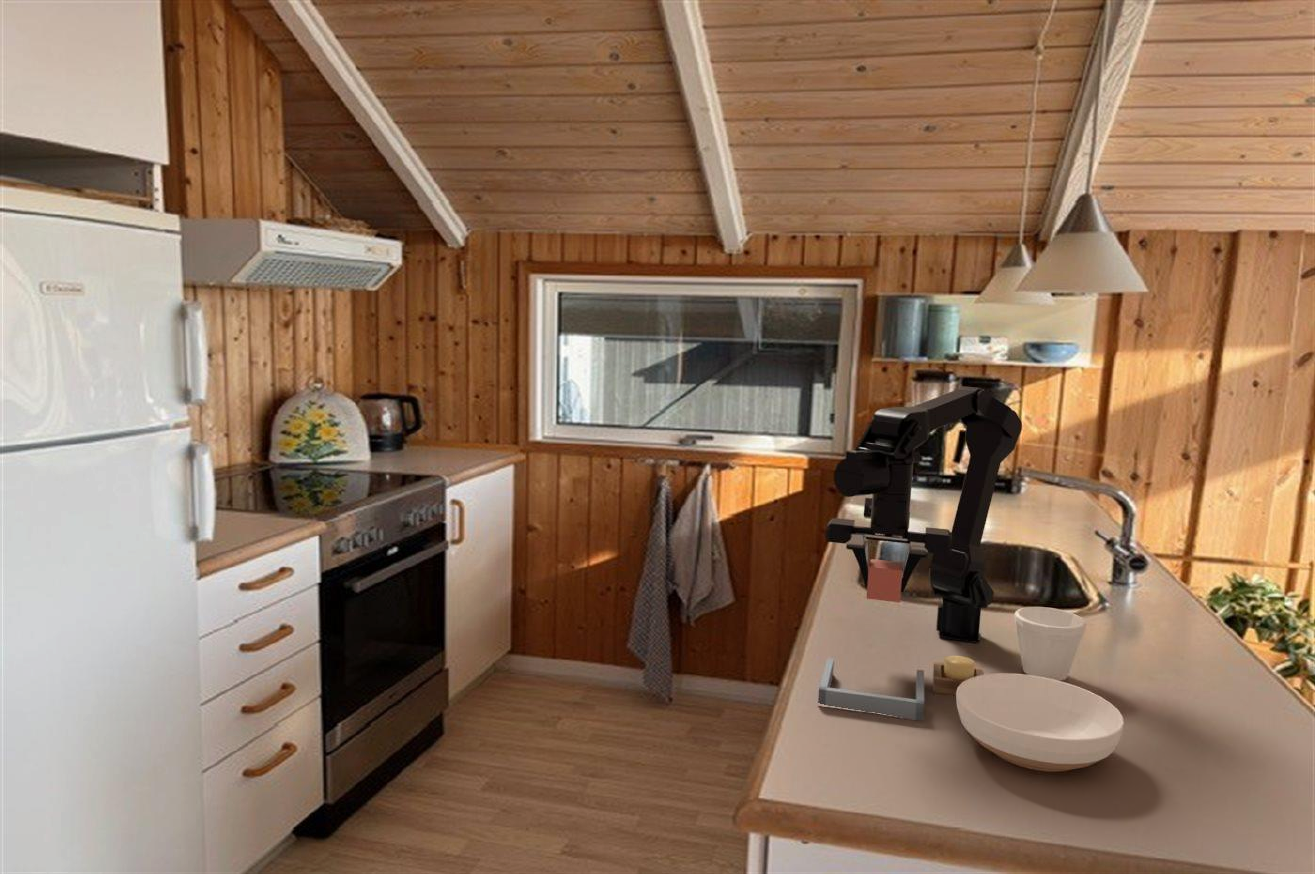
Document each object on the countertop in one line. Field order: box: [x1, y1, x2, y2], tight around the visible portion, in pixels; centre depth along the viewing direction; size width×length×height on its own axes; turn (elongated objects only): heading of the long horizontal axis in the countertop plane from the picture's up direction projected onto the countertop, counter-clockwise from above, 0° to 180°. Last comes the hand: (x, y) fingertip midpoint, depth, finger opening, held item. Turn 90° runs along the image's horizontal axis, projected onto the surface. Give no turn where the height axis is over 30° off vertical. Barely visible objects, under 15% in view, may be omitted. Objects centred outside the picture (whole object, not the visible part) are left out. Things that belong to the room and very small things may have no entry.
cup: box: [1014, 606, 1087, 682], centre depth 140 cm, size 10×10×9 cm
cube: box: [866, 558, 904, 604], centre depth 144 cm, size 5×5×5 cm
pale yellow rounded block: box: [944, 655, 976, 680], centre depth 135 cm, size 4×4×3 cm
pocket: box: [817, 657, 925, 722], centre depth 131 cm, size 14×12×2 cm
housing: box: [932, 661, 985, 696], centre depth 136 cm, size 7×7×2 cm
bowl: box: [955, 672, 1125, 773], centre depth 116 cm, size 20×20×6 cm
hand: (884, 589), depth 144 cm, fingers closed on cube, 5 cm apart
